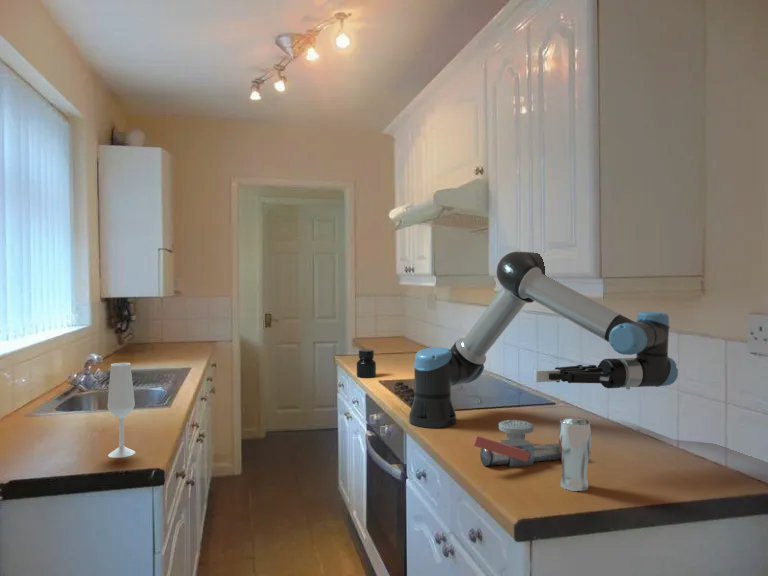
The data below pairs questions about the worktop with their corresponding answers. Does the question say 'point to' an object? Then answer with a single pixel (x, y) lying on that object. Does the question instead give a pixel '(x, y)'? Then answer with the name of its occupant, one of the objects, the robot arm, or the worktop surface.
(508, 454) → the lever
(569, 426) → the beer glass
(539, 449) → the valve
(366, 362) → the ink bottle
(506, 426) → the showerhead
